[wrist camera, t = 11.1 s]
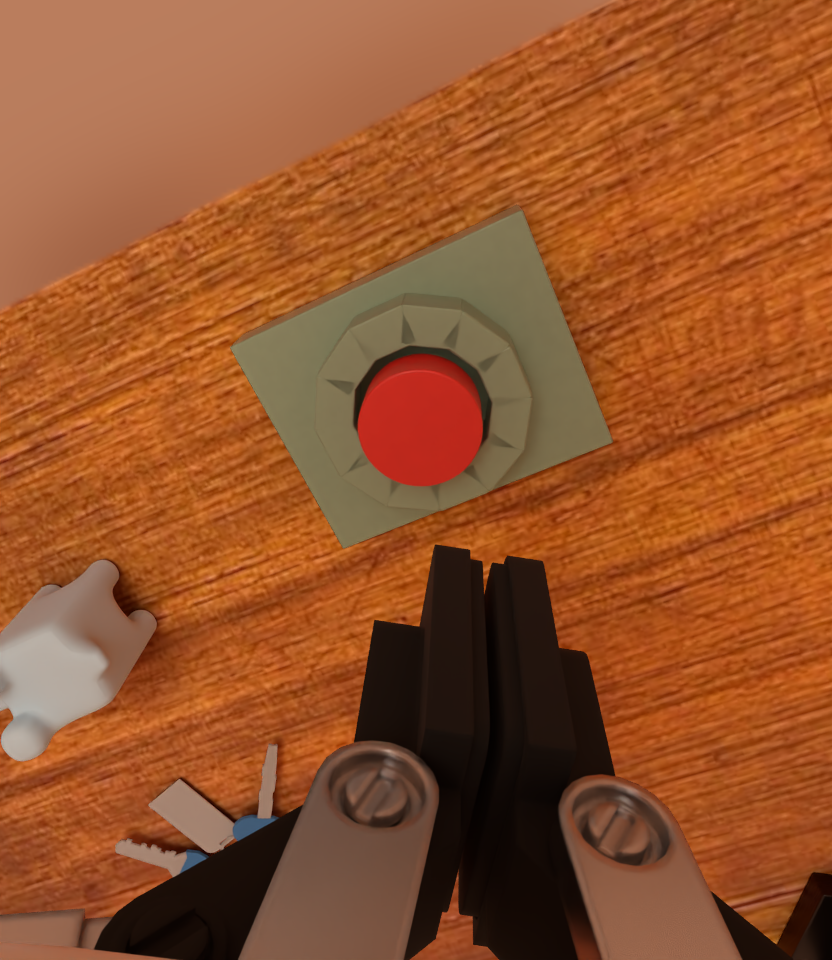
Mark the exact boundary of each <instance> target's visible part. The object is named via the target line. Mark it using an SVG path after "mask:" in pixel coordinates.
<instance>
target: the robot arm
mask: <svg viewBox="0 0 832 960" xmlns="http://www.w3.org/2000/svg"><path fill="white" fill-rule="evenodd" d="M458 869H459V901H458V903H459V913H460V915H467V916H473V945H479V946H486V947H488V948H489V949H490V950H491V951H492V952H493V953H494V954H495V955H496V957H497V958H498V959H499V960H794V959H793V958H792V957H790V956H789V955H788V954H787V953H785V952H784V951H783V950H782V949H781V948H779V947H778V946H777V945H776V944H775V943H773V942H772V941H771V940H770V939H768V938H767V937H766V936H765V935H764V934H762V933H761V932H760V931H759V930H758V929H756V928H755V927H754V926H753V925H751V924H750V923H749V922H748V921H747V920H745V919H744V918H743V917H742V916H741V915H739V914H738V913H737V912H736V911H734V910H733V909H732V908H731V907H730V906H728V905H727V904H726V903H725V902H724V901H722V900H721V899H720V898H719V897H717V896H716V895H715V894H714V893H713V892H711V891H710V890H709V887H708V885H707V883H706V881H705V879H704V877H703V875H702V873H701V870H700V868H699V866H698V864H697V862H696V860H695V858H694V855H693V853H692V851H691V849H690V847H689V845H688V843H687V841H686V838H685V836H684V834H683V832H682V830H681V828H680V826H679V824H678V822H677V821H676V819H675V817H674V816H673V814H672V813H671V811H670V810H669V808H668V807H667V806H666V805H665V804H664V803H662V802H661V801H660V800H659V799H658V798H657V797H656V796H655V795H654V794H652V793H651V792H649V791H648V790H646V789H645V788H643V787H641V786H640V785H638V784H636V783H633V782H631V781H628V780H626V779H623V778H620V777H615V772H614V768H613V764H612V759H611V755H610V750H609V746H608V742H607V737H606V733H605V729H604V724H603V720H602V716H601V711H600V707H599V702H598V698H597V694H596V689H595V685H594V681H593V676H592V672H591V668H590V663H589V660H588V657H587V654H586V653H584V652H582V651H576V650H569V649H562V648H559V646H558V640H557V635H556V629H555V624H554V618H553V612H552V607H551V601H550V596H549V590H548V585H547V579H546V573H545V568H544V563H543V561H539V560H533V559H526V558H520V557H513V556H507V557H506V559H505V561H504V564H498V563H492V565H491V568H490V572H489V576H488V581H487V585H486V590H485V594H484V583H483V563H482V561H479V560H472V559H470V550H468V549H461V548H455V547H448V546H442V545H435V547H434V551H433V556H432V561H431V567H430V572H429V578H428V583H427V589H426V594H425V600H424V605H423V611H422V616H421V622H420V627H418V626H411V625H404V624H398V623H391V622H385V621H378V620H374V626H373V632H372V638H371V644H370V650H369V656H368V662H367V668H366V674H365V680H364V686H363V692H362V698H361V704H360V710H359V716H358V722H357V728H356V734H355V740H354V743H352V744H349V745H346V746H344V747H341V748H339V749H337V750H336V751H335V752H333V753H332V754H331V755H329V756H328V757H327V758H326V759H325V761H324V762H323V764H322V765H321V767H320V768H319V770H318V771H317V774H316V776H315V778H314V781H313V783H312V786H311V788H310V790H309V793H308V795H307V797H306V800H305V802H304V804H303V805H302V806H300V807H298V808H296V809H295V810H293V811H291V812H289V813H287V814H286V815H284V816H282V817H280V818H278V819H277V820H275V821H273V822H271V823H269V824H268V825H266V826H264V827H262V828H260V829H259V830H257V831H255V832H253V833H252V834H250V835H248V836H246V837H244V838H243V839H241V840H239V841H237V842H235V843H234V844H232V845H230V846H228V847H226V848H225V849H223V850H221V851H219V852H217V853H216V854H214V855H212V856H210V857H209V858H207V859H205V860H203V861H201V862H200V863H198V864H196V865H194V866H192V867H191V868H189V869H187V870H185V871H183V872H182V873H180V874H178V875H176V876H174V877H173V878H171V879H169V880H167V881H166V882H164V883H162V884H160V885H158V886H157V887H155V888H153V889H151V890H149V891H148V892H146V893H144V894H142V895H140V896H139V897H137V898H135V899H134V900H133V901H131V902H130V903H129V904H127V905H126V906H125V907H123V908H122V909H120V910H119V911H118V912H117V913H116V914H115V915H114V916H113V917H104V918H91V919H85V908H84V909H71V910H58V911H45V912H32V913H19V914H6V915H0V960H410V959H411V958H412V957H413V956H415V955H416V954H417V953H418V952H420V951H421V950H422V949H423V948H425V947H426V946H427V945H428V944H430V943H431V942H432V941H433V940H435V939H436V935H437V931H438V927H439V923H440V919H441V915H442V912H447V911H448V909H449V905H450V901H451V897H452V893H453V889H454V885H455V881H456V877H457V873H458Z"/></svg>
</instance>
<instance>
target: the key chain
mask: <svg viewBox="0 0 832 960" xmlns="http://www.w3.org/2000/svg"><path fill="white" fill-rule="evenodd" d="M277 747H278V744H274V745H273V744H269V745H268V750H267V754H266V759H265V763H264V764H263V768H262V776H263V778H262V786H261V789H260V791H259V799H258V800H260V801H259V808H258V815H247V816H243V817H241V818H240V819H239V820H237V821H236V822H235V823H233V822H232V821H231V820H230V819H229V818H227V817H226V816H225V815H224V814H222V813H221V812H220V811H219V810H218V809H216V808H215V807H214V806H213V805H211V804H210V803H209V802H208V801H207V800H205V799H204V798H203V797H202V796H200V795H199V794H198V793H197V792H196V791H194V790H193V789H192V788H191V787H189V786H188V785H187V784H186V783H185V782H183V781H182V780H181V779H180V778H179V779H178V780H177V781H176V782H175V783H173V784H172V785H171V786H170V787H169V788H167V789H166V790H165V791H164V792H163V793H161V794H160V795H159V796H158V797H157V798H156V799H154V800H153V801H152V802H151V803H150V804H148V806H149V807H151V808H152V809H153V810H154V811H156V812H157V813H158V814H159V815H161V816H162V817H163V818H164V819H166V820H167V821H168V822H169V823H171V824H172V825H173V826H174V827H176V828H177V829H178V830H179V831H181V832H182V833H183V834H184V835H186V836H187V837H188V838H189V839H191V840H192V841H193V842H194V843H196V844H197V845H198V846H199V847H201V848H202V849H203V850H205V851H206V852H207V853H214V852H216V851H218V850H219V849H221V850H223V849H224V846H225V845H226V844H228V843H229V842H230V841H231V840H232V839H234V838H236V839H237V840H238V841H239V840H241V839H243V838H244V837H246V836H248V835H250V834H252V833H253V832H255V831H257V830H259V829H260V828H262V827H264V826H266V825H268V824H269V823H271V822H273V821H275V820H277V819H278V818H279V817H276V816H271V812H272V805H273V798H272V796H273V792H274V790H275V783H276V776H277V775H275V774H276V766H277ZM224 839H225V840H224ZM132 840H133V839H130V838H127V840H124V839H121V840H120V841H119V842H118V843H117V844H116V853H118V854H121V855H125V856H128V857H131V858H134V859H137V860H141V861H144V862H147V863H150V864H153V865H157V866H160V867H163V868H166V869H168V870H169V872H170V873H171V875H172V876H173V877H174V876H176V875H178V874H180V873H182V872H183V871H185V870H187V869H189V868H191V867H192V866H194V865H196V864H198V863H200V862H201V861H203V860H205V859H207V858H209V856H207V855H206V854H204V853H202V852H200V851H197V850H188V849H187V850H186V852H183V853H180V854H177V855H175V854H176V851H173V850H171V851H168V850H166V852H162V851H161V849H162V848H158V847H157V845H154V844H152V846H151V848H149V847H146V846H147V844H146V843H143V842H142V844H141V845H140V844H136V843H133V842H132ZM223 840H224V841H223ZM222 841H223V842H222ZM221 842H222V843H221ZM219 843H221V844H219ZM221 850H220V851H221Z"/></svg>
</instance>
